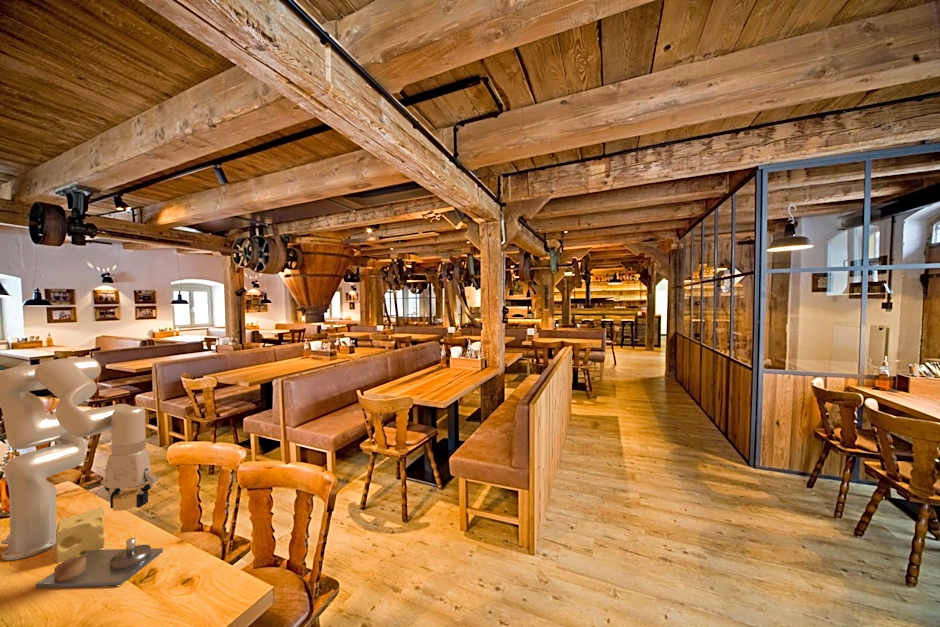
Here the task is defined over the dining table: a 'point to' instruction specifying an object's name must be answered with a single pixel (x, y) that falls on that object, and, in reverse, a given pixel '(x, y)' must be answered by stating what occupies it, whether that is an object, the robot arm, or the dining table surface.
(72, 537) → the cheese
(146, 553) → the hub
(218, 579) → the dining table surface
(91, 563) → the plate
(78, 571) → the brown rounded dome
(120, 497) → the collar
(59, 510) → the dining table surface
